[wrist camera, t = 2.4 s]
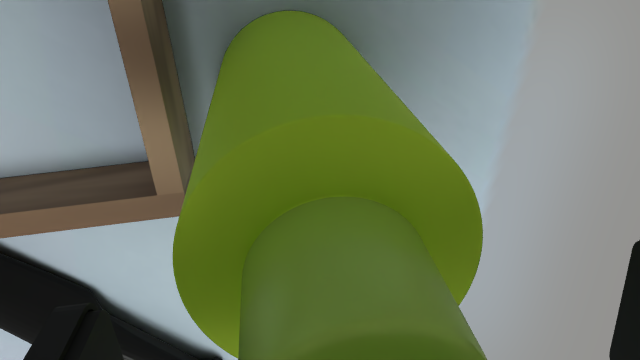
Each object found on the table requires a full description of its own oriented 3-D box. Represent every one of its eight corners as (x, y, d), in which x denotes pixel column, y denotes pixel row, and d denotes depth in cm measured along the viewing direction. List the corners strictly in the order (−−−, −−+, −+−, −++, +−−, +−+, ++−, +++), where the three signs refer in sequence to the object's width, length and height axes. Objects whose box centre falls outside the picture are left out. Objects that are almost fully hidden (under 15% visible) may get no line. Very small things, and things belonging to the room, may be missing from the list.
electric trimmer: (-36, 201, 22) (-80, 239, 19) (235, 359, 28) (233, 406, 25) (-77, 256, 23) (-125, 300, 20) (194, 398, 29) (186, 448, 26)
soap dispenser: (335, 177, 23) (598, 972, 5) (197, 111, 21) (-130, 1063, 3) (404, 66, 21) (1172, 735, 3) (259, -19, 19) (297, 583, 1)
